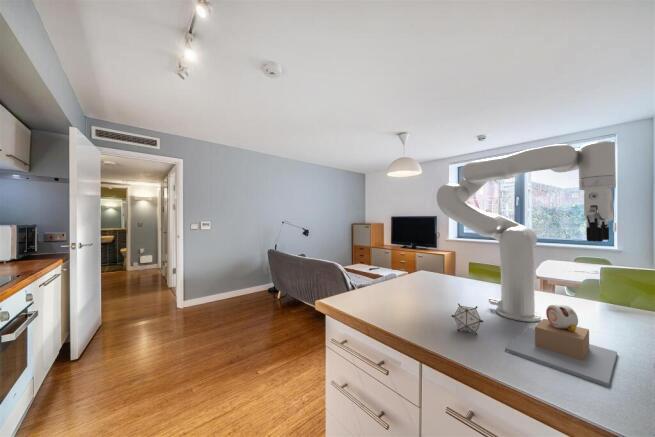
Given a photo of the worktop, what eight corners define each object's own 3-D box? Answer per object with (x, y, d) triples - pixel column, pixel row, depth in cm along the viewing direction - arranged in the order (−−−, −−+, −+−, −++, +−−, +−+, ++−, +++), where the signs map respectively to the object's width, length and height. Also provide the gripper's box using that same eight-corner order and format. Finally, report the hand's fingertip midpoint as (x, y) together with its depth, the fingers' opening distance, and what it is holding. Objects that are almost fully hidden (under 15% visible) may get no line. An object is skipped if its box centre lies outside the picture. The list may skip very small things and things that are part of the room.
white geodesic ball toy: (470, 347, 74) (468, 328, 69) (446, 327, 81) (443, 308, 76) (491, 329, 76) (491, 309, 71) (466, 311, 83) (464, 291, 78)
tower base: (504, 350, 65) (504, 328, 65) (528, 330, 77) (527, 311, 77) (608, 387, 51) (608, 358, 51) (617, 354, 63) (616, 331, 63)
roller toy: (562, 323, 68) (562, 302, 68) (582, 333, 62) (582, 310, 62) (544, 322, 69) (544, 301, 69) (562, 332, 62) (562, 309, 63)
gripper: (610, 179, 67) (611, 243, 67) (620, 184, 77) (621, 239, 77) (572, 183, 73) (573, 241, 73) (585, 187, 83) (587, 238, 83)
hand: (598, 240), depth 75 cm, fingers open, 9 cm apart
